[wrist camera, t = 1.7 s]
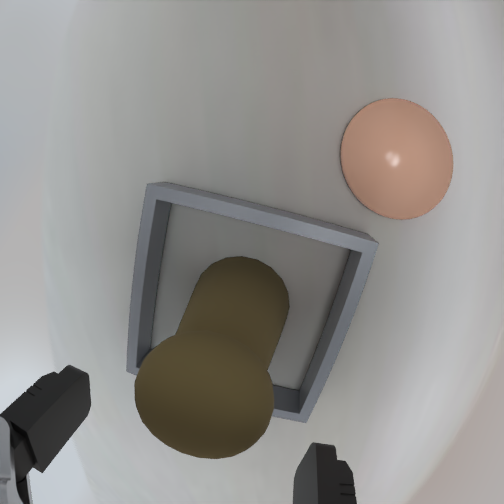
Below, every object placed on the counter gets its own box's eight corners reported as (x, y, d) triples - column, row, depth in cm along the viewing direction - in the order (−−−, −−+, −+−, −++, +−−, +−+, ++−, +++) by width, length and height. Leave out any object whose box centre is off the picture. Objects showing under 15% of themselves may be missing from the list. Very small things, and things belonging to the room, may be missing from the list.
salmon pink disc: (354, 84, 16) (356, 81, 15) (457, 125, 16) (461, 124, 15) (327, 198, 18) (328, 199, 17) (432, 232, 17) (436, 233, 17)
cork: (253, 237, 19) (205, 319, 8) (307, 317, 20) (317, 453, 9) (175, 287, 20) (80, 388, 10) (229, 359, 21) (184, 489, 10)
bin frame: (164, 181, 19) (147, 183, 16) (367, 234, 18) (378, 243, 16) (140, 353, 22) (126, 371, 19) (305, 399, 21) (306, 422, 19)
